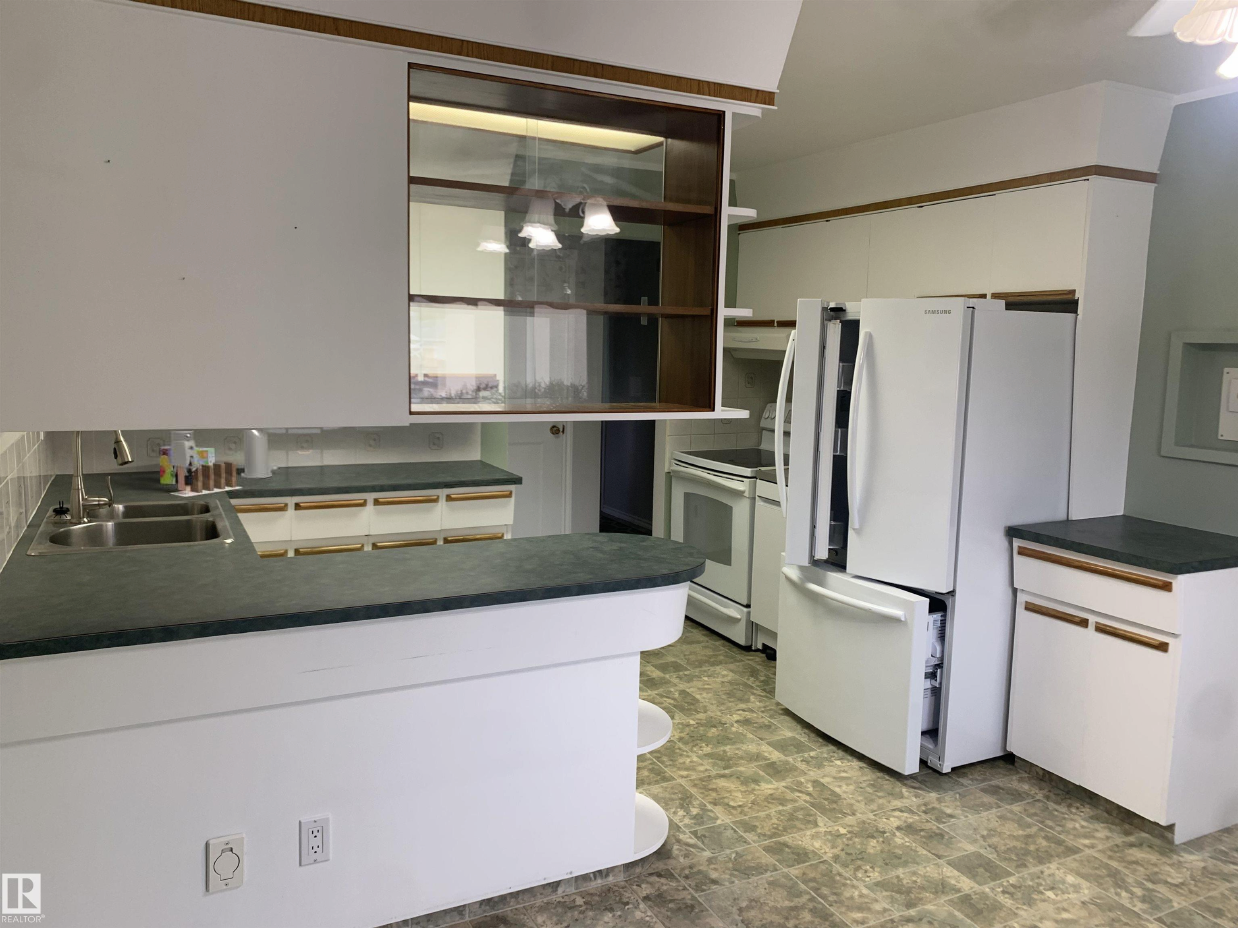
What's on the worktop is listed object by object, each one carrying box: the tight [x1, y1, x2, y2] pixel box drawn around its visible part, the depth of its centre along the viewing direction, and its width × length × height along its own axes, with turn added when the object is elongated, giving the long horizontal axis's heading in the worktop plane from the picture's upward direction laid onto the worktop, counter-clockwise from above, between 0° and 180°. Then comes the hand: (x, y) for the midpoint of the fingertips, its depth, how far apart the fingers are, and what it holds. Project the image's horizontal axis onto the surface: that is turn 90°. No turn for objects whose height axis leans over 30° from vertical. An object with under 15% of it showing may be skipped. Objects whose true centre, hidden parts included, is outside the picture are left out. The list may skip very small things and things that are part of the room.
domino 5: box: [223, 461, 237, 488], centre depth 355 cm, size 2×5×10 cm, turn 60°
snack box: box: [158, 445, 216, 485], centre depth 360 cm, size 21×6×15 cm, turn 84°
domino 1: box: [177, 465, 191, 491], centre depth 338 cm, size 2×5×10 cm, turn 60°
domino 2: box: [190, 466, 203, 493], centre depth 342 cm, size 2×5×10 cm, turn 60°
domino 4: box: [213, 462, 225, 489], centre depth 351 cm, size 2×5×10 cm, turn 60°
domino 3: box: [201, 464, 214, 491], centre depth 347 cm, size 2×5×10 cm, turn 60°
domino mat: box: [169, 485, 243, 498], centre depth 347 cm, size 25×10×1 cm, turn 150°
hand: (184, 483), depth 338 cm, fingers closed on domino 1, 4 cm apart
